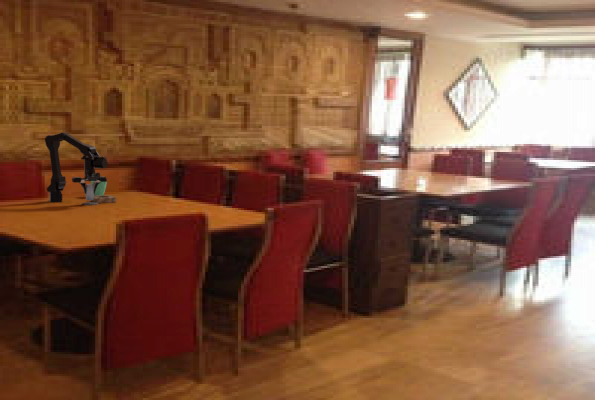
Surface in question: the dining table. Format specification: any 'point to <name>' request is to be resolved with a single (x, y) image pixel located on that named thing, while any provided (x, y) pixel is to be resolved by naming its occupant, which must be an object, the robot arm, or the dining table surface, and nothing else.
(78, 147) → the robot arm
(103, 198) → the frame
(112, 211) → the dining table surface
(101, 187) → the mug
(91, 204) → the coaster
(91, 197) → the grey rounded cylinder
